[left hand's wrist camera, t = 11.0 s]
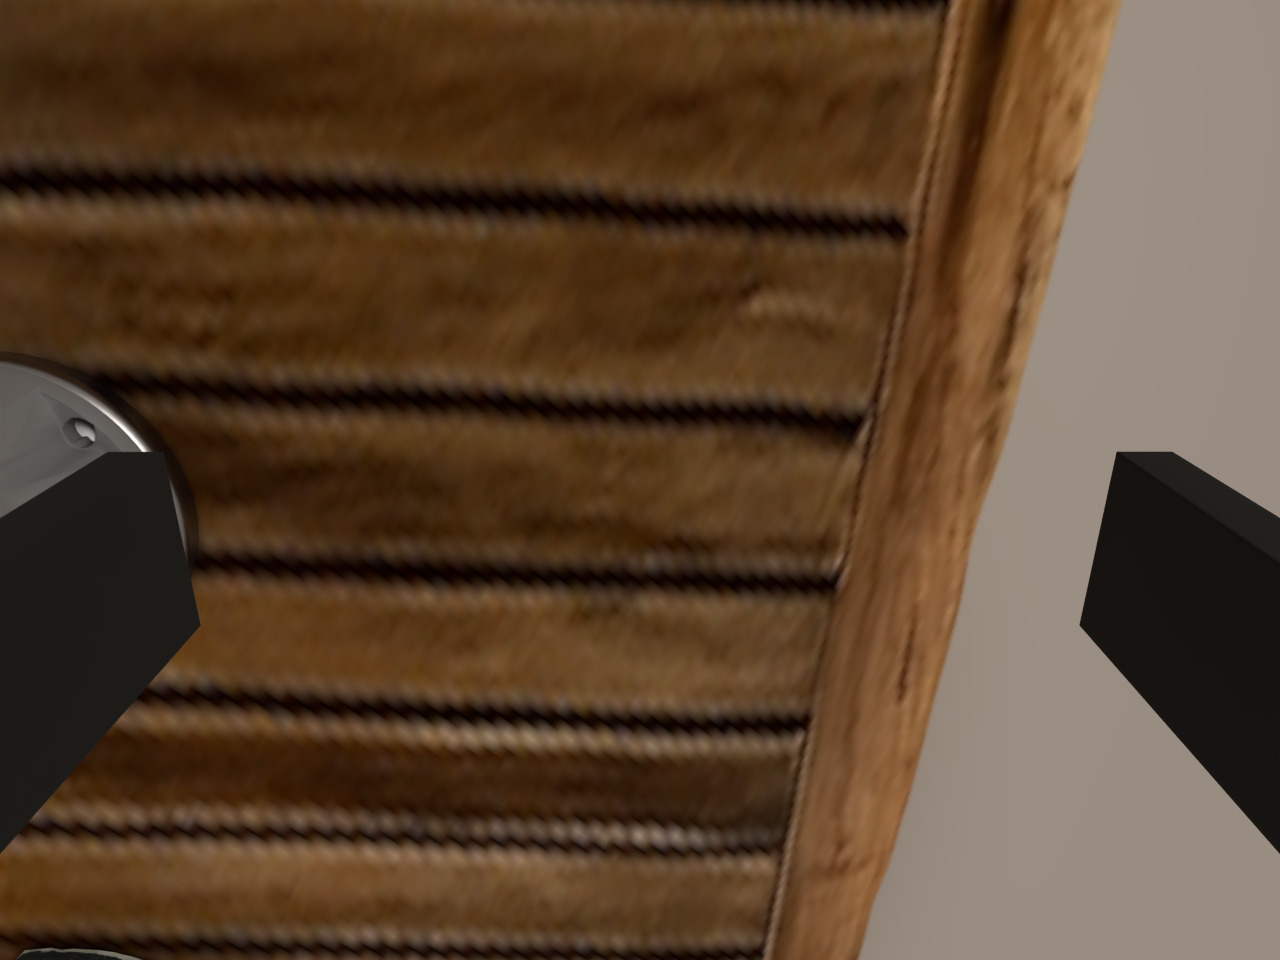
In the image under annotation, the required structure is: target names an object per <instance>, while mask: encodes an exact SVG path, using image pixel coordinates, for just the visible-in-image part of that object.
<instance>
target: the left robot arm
mask: <svg viewBox="0 0 1280 960" xmlns="http://www.w3.org/2000/svg"><path fill="white" fill-rule="evenodd" d="M198 539H199V535H198V520H197V513H196V508H195V504H194V500H193V496H192V493H191V490H190V487H189V485H188V482H187V479H186V477H185V475H184V473H183V471H182V469H181V467H180V465H179V463H178V461H177V460H176V458H175V456H174V455H173V453H172V451H171V450H170V449H169V447H168V446H167V444H166V443H165V442H164V440H163V439H162V437H161V436H160V435H159V434H158V433H157V431H156V430H155V429H154V428H153V427H152V426H151V424H150V423H149V422H148V421H147V420H146V419H145V418H144V417H143V416H142V415H141V414H140V413H139V412H138V411H137V410H135V409H134V408H133V407H132V406H131V405H130V404H128V403H127V402H126V401H125V400H124V399H122V398H121V397H119V396H118V395H117V394H115V393H114V392H113V391H111V390H110V389H108V388H107V387H105V386H103V385H102V384H100V383H99V382H97V381H95V380H94V379H92V378H90V377H88V376H86V375H84V374H82V373H80V372H78V371H76V370H73V369H71V368H69V367H66V366H64V365H61V364H58V363H55V362H52V361H49V360H46V359H43V358H39V357H34V356H30V355H25V354H18V353H11V352H0V853H1V852H2V851H3V850H4V849H5V848H6V847H7V845H8V844H9V843H10V842H11V841H12V840H13V839H14V837H15V836H16V835H17V834H18V833H19V832H20V831H21V829H22V828H23V827H24V826H25V825H26V824H27V823H28V821H29V820H30V819H31V818H32V817H33V816H34V815H35V813H36V812H37V811H38V810H39V809H40V808H41V807H42V805H43V804H44V803H45V802H46V801H47V800H48V799H49V798H50V796H51V795H52V794H53V793H54V792H55V791H56V790H57V788H58V787H59V786H60V785H61V784H62V783H63V782H64V780H65V779H66V778H67V777H68V776H69V775H70V774H71V772H72V771H73V770H74V769H75V768H76V767H77V766H78V764H79V763H80V762H81V761H82V760H83V759H84V758H85V756H86V755H87V754H88V753H89V752H90V751H91V750H92V748H93V747H94V746H95V745H96V744H97V743H98V742H99V740H100V739H101V738H102V737H103V736H104V735H105V734H106V732H107V731H108V730H109V729H110V728H111V727H112V726H113V725H114V723H115V722H116V721H117V720H118V719H119V718H120V717H121V715H122V714H123V713H124V712H125V711H126V710H127V709H128V707H129V706H130V705H131V704H132V703H133V702H134V701H135V699H136V698H137V697H138V696H139V695H140V694H141V693H142V691H143V690H144V689H145V688H146V687H147V686H148V685H149V683H150V682H151V681H152V680H153V679H154V678H155V677H156V675H157V674H158V673H159V672H160V671H161V670H162V669H163V667H164V666H165V665H166V664H167V663H168V662H169V661H170V659H171V658H172V657H173V656H174V655H175V654H176V653H177V652H178V650H179V649H180V648H181V647H182V646H183V645H184V644H185V642H186V641H187V640H188V639H189V638H190V637H191V636H192V634H193V633H194V632H195V631H196V630H197V629H198V628H199V626H200V621H199V616H198V611H197V607H196V602H195V597H194V593H193V588H192V583H191V579H190V578H191V575H192V572H193V569H194V566H195V562H196V557H197V552H198ZM1080 626H1081V628H1082V629H1083V630H1084V631H1085V632H1086V633H1087V634H1088V636H1089V637H1090V638H1091V639H1092V640H1093V641H1094V642H1095V643H1096V645H1097V646H1098V647H1099V648H1100V649H1101V650H1102V652H1103V653H1104V654H1105V655H1106V656H1107V657H1108V658H1109V659H1110V661H1111V662H1112V663H1113V664H1114V665H1115V666H1116V667H1117V669H1118V670H1119V671H1120V672H1121V673H1122V674H1123V675H1124V677H1125V678H1126V679H1127V680H1128V681H1129V682H1130V683H1131V685H1132V686H1133V687H1134V688H1135V689H1136V690H1137V691H1138V693H1139V694H1140V695H1141V696H1142V697H1143V698H1144V699H1145V701H1146V702H1147V703H1148V704H1149V705H1150V706H1151V707H1152V709H1153V710H1154V711H1155V712H1156V713H1157V714H1158V715H1159V717H1160V718H1161V719H1162V720H1163V721H1164V722H1165V723H1166V725H1167V726H1168V727H1169V728H1170V729H1171V730H1172V731H1173V732H1174V734H1175V735H1176V736H1177V737H1178V738H1179V739H1180V740H1181V742H1182V743H1183V744H1184V745H1185V746H1186V747H1187V748H1188V750H1189V751H1190V752H1191V753H1192V754H1193V755H1194V756H1195V758H1196V759H1197V760H1198V761H1199V762H1200V763H1201V764H1202V766H1203V767H1204V768H1205V769H1206V770H1207V771H1208V772H1209V774H1210V775H1211V776H1212V777H1213V778H1214V779H1215V780H1216V782H1217V783H1218V784H1219V785H1220V786H1221V787H1222V788H1223V789H1224V791H1225V792H1226V793H1227V794H1228V795H1229V796H1230V798H1231V799H1232V800H1233V801H1234V802H1235V803H1236V804H1237V805H1238V807H1239V808H1240V809H1241V810H1242V811H1243V812H1244V813H1245V815H1246V816H1247V817H1248V818H1249V819H1250V820H1251V821H1252V823H1253V824H1254V825H1255V826H1256V827H1257V828H1258V829H1259V831H1260V832H1261V833H1262V834H1263V835H1264V836H1265V837H1266V839H1267V840H1268V841H1269V842H1270V843H1271V844H1272V845H1273V847H1274V848H1275V849H1276V850H1277V851H1278V852H1279V853H1280V518H1279V517H1277V516H1276V515H1274V514H1273V513H1271V512H1269V511H1268V510H1266V509H1264V508H1263V507H1261V506H1259V505H1258V504H1256V503H1255V502H1253V501H1251V500H1250V499H1248V498H1247V497H1245V496H1243V495H1242V494H1240V493H1238V492H1237V491H1235V490H1233V489H1232V488H1230V487H1229V486H1227V485H1225V484H1224V483H1222V482H1221V481H1219V480H1217V479H1216V478H1214V477H1212V476H1211V475H1209V474H1208V473H1206V472H1204V471H1203V470H1201V469H1199V468H1198V467H1196V466H1195V465H1193V464H1191V463H1190V462H1188V461H1186V460H1185V459H1183V458H1182V457H1180V456H1178V455H1177V454H1175V453H1173V452H1117V453H1116V458H1115V462H1114V467H1113V471H1112V476H1111V481H1110V485H1109V490H1108V495H1107V499H1106V504H1105V509H1104V513H1103V518H1102V523H1101V528H1100V532H1099V537H1098V541H1097V546H1096V551H1095V555H1094V560H1093V565H1092V569H1091V574H1090V579H1089V583H1088V588H1087V593H1086V597H1085V602H1084V607H1083V611H1082V616H1081V621H1080Z"/></svg>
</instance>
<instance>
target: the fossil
mask: <svg viewBox="0 0 1280 960" xmlns="http://www.w3.org/2000/svg"><path fill="white" fill-rule="evenodd" d="M15 960H142V959H138V958H135V957H132V956H127V955H122V954H118V953H115V952H108V951H102V950H85V949H65V950H60V949H55V948H45V949H32V950H25V951H24V952H23V953H22V954H21V955H20V956H19V957H17V958H16V959H15Z"/></svg>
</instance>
